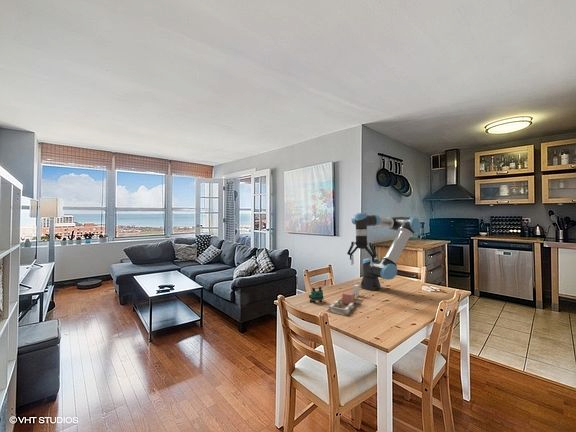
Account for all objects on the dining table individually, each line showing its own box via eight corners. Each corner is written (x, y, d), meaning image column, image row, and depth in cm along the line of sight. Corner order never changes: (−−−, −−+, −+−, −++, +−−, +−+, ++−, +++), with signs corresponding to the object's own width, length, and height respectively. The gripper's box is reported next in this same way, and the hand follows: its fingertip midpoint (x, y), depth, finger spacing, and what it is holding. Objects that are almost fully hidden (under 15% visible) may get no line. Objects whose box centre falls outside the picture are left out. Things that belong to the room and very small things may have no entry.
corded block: (352, 295, 183) (353, 284, 183) (361, 297, 180) (361, 285, 180) (342, 303, 164) (342, 290, 165) (351, 304, 161) (351, 292, 162)
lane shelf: (343, 298, 178) (343, 292, 178) (363, 301, 171) (363, 295, 171) (326, 312, 153) (326, 306, 153) (349, 318, 145) (349, 311, 145)
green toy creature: (318, 284, 177) (324, 287, 167) (319, 300, 176) (325, 304, 166) (306, 285, 174) (311, 288, 165) (306, 301, 174) (312, 305, 164)
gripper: (342, 235, 183) (342, 264, 184) (378, 236, 169) (379, 268, 170) (346, 234, 189) (346, 262, 190) (381, 235, 176) (381, 266, 176)
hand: (361, 265), depth 180 cm, fingers open, 13 cm apart
